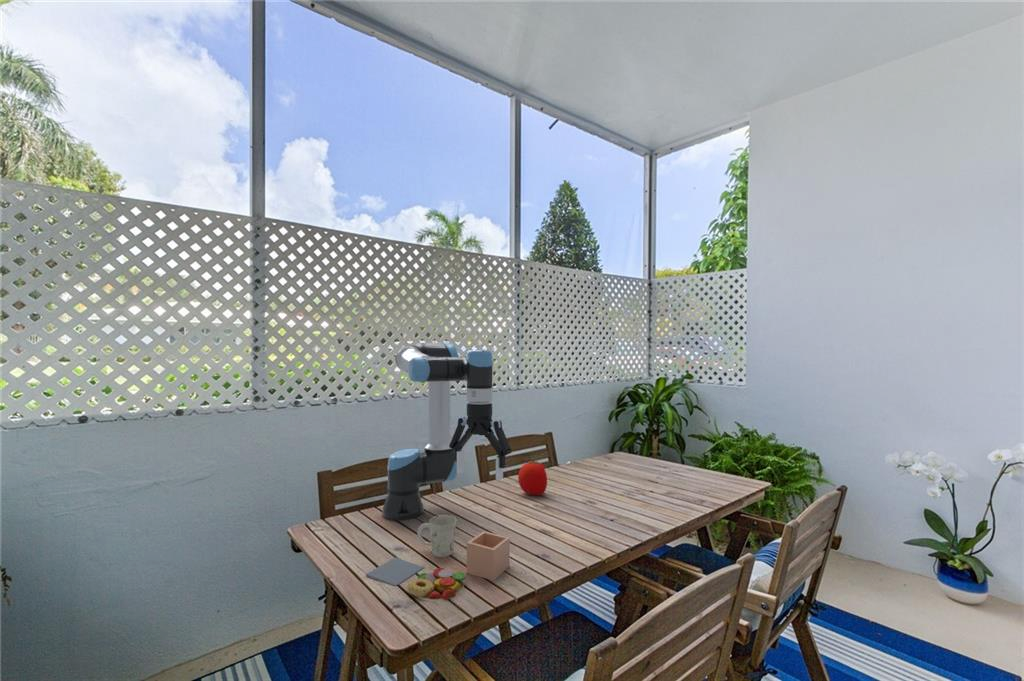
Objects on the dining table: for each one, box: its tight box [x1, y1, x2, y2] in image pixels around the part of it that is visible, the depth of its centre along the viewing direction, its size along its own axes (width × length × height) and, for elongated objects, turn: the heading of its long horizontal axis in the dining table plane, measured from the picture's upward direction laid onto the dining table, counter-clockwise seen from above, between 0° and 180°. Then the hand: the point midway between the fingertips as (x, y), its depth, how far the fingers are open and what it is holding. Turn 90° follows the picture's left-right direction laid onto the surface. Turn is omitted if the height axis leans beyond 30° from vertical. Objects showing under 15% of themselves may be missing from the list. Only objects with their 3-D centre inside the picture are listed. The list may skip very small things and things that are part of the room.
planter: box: [466, 530, 511, 581], centre depth 122 cm, size 9×9×9 cm
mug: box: [416, 514, 458, 558], centre depth 134 cm, size 8×13×10 cm, turn 78°
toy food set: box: [407, 567, 467, 603], centre depth 114 cm, size 13×13×3 cm
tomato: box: [517, 460, 548, 496], centre depth 186 cm, size 13×11×14 cm
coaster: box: [365, 557, 425, 587], centre depth 122 cm, size 11×11×1 cm
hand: (479, 475), depth 129 cm, fingers open, 13 cm apart
